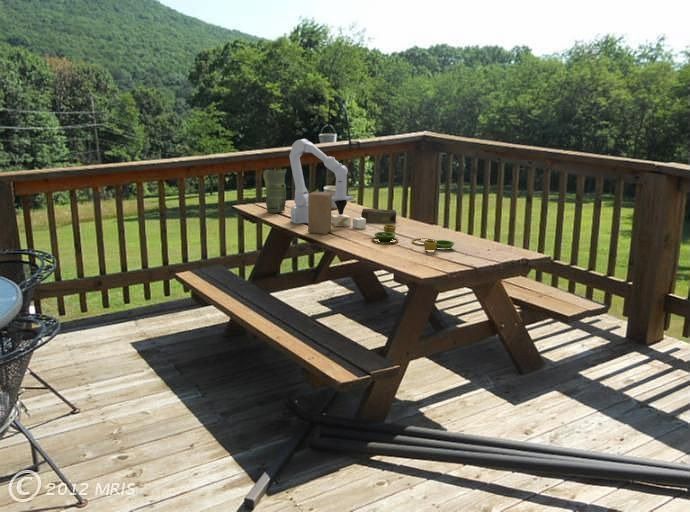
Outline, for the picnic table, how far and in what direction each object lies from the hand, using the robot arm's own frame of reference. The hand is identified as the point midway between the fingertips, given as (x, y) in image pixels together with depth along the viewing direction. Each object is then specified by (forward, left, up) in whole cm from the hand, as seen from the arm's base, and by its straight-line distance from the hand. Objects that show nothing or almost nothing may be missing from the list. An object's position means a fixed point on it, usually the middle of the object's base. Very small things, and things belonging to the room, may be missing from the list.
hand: (340, 214), depth 354 cm
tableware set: (+12, -50, -7) cm, 51 cm away
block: (-18, -12, -6) cm, 22 cm away
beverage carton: (+24, +1, -6) cm, 25 cm away
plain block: (0, 0, -6) cm, 6 cm away
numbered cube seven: (+6, -10, -6) cm, 13 cm away
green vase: (-19, +46, -6) cm, 50 cm away
